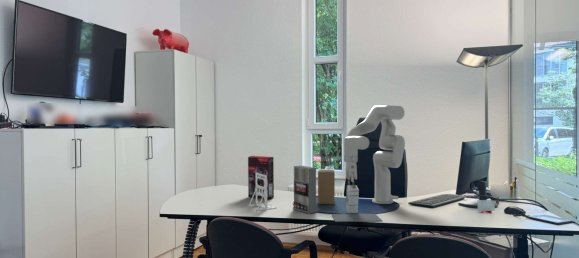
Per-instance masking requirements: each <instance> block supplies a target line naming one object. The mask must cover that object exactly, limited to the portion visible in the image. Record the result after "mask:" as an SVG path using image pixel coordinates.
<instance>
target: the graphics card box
mask: <svg viewBox="0 0 579 258" xmlns="http://www.w3.org/2000/svg"><path fill="white" fill-rule="evenodd" d="M274 159H275V158H274V156H266V155H265V156H263V155H262V156H261V155H250V156H248V157H247V181H248V183H247V186H248V190H247V192H248V193H247V195H248V197H249V198H252V196H253V194H254V192H255V188H256V175H255V174H256V173H259V174H263V175H267V194H268V197H267V200H270V199H274V198H275V193H274V192H275V191H274V190H275V188H274V187H275V183H274V182H275V181H274V179H275V178H274V176H275V175H274V171H275V170H274V164H275V163H274ZM257 177H258V175H257ZM259 177H260V175H259ZM261 178H262V176H261ZM263 179H264V177H263ZM263 179H259V178H258V179H257V183H258V185H259V186H262V187H264V180H263ZM258 192H259V188H258ZM260 193H261V189H260ZM263 194H264V190H263ZM262 197H263V196H260V195H258V196H257V199H262ZM253 198H255V199H256V192H255V194H254V197H253ZM262 200H264V197H263V199H262Z"/></svg>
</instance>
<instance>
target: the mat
mask: <svg viewBox="0 0 579 258" xmlns="http://www.w3.org/2000/svg"><path fill="white" fill-rule="evenodd" d="M331 217H332V218H333V220H334V222H335V223H343V222H344V223H350V222H353V223H354V222H355V223H356V222H361V223H362V222H363V223H364V222H383V220H382V218H381V217H379V216H378V215H377V214H376V213H331Z"/></svg>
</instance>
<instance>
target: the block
mask: <svg viewBox="0 0 579 258" xmlns="http://www.w3.org/2000/svg"><path fill="white" fill-rule="evenodd" d="M335 181H336V180H335V170H334V169H318V170H317V202H318V203H317V204H318V205H335V196H336V195H335V188H336V187H335V186H336V185H335Z"/></svg>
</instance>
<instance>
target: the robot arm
mask: <svg viewBox="0 0 579 258" xmlns="http://www.w3.org/2000/svg"><path fill="white" fill-rule="evenodd" d="M405 112H406V111H405V109H404V107H403V106H401V105H391V104H385V105H384V104H382V105H374V106H372V107H371V109H370V111H369V112H368V114H367V115H366V117H365V119H364V120H363V121H362V122H360V123H358V124H356V125H355V126H354V127H352V128H351V129H350V130H349V132H348V133H347V135H346V137H344V139H343V162H345V178H346V179H347V185H355V181H357V180H358V171H357V170H358V169H357V168H358V167H357V162H358V160H359V157H358V153H359V151H358V150H366V149H368V148H369V146H370V139H369V138H368V137H366V136H363V135H365V134H368V133H372V132H374V131H375V130H376V129H377V127H378V126H379V124H380V123H381V131H380V136H379V140H378V141H379V142H378V147H379V149H382V150H378V151H376V152H375V153H373V156H372V161H373V162H372V163H373V166H374V198H372V199H371V201H372V203H374V204H379V205H389V204H393V203H394V200H399V196H398V195H392V194H391V171H390V168H392V169H393V168H394V169H397V168H399V167H400V166H401V165H402V161H403V158H404V152H405V148H406V140H405V137H404V136H403V135H400V134H396V132H397V131H396V130H397V127H396V125H395V123H394V121H395V120H396V121H397V120H398V121H400V120H402V119H403V118H404V116H405ZM354 180H355V181H354Z"/></svg>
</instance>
